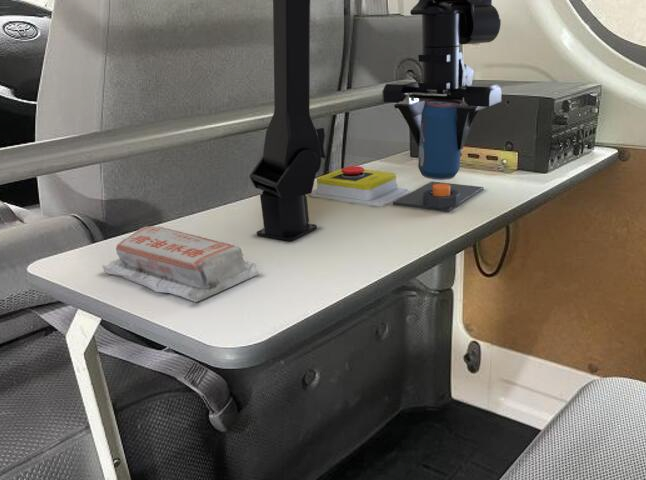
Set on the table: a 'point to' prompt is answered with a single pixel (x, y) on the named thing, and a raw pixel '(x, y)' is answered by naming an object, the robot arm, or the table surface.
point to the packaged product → (180, 263)
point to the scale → (438, 197)
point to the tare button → (441, 190)
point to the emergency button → (359, 186)
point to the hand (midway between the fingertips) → (440, 147)
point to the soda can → (439, 140)
